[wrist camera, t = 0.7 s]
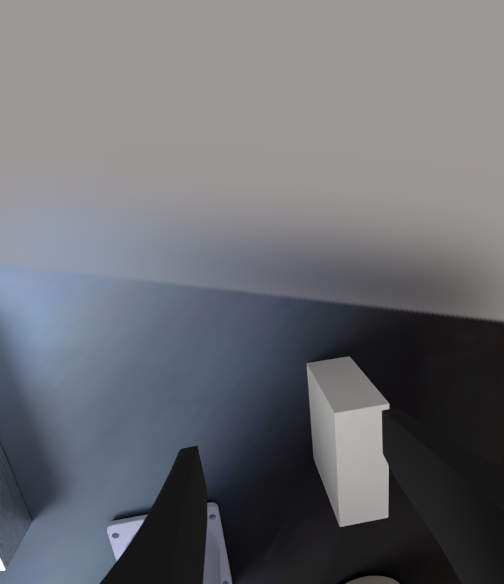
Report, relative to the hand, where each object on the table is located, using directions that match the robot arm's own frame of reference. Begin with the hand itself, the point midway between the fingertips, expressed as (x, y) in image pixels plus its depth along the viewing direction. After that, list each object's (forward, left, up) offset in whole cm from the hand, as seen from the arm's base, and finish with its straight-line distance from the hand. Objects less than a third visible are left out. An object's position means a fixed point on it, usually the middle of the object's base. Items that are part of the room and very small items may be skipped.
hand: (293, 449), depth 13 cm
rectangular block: (-6, -5, -10) cm, 12 cm away
